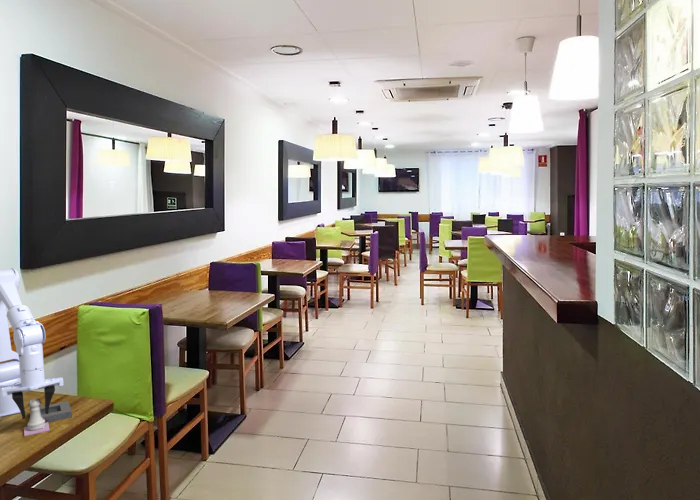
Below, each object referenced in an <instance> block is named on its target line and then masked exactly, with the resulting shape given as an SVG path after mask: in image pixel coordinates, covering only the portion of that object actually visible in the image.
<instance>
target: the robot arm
mask: <svg viewBox="0 0 700 500" xmlns="http://www.w3.org/2000/svg"><path fill="white" fill-rule="evenodd" d="M20 277H21V276H20V274H19V271H18V270H17V269H16V268H15V267H11V268H6V269H0V417H5V416H10V415H15V414H21V417H22V420H25V419H26V410H25V405H24V404H25V403H24V393H25V392H26V393H27V392H32V391H36V390H37V391H38V390H42V389H44V390H43V393H44V406H45V413H46V414H49V413H48V412H49V405H50V404H51V401H52V399H53V396H54V394H55V391H56V388H55V387H63V386H64V378H63V377H54V378H45V376H46V375H45V363H44V351H43V350H44V349H43V344H45V342H46V339H47V337H46V329H45V327H44V325H43V324H42V323H41V322H39V321H38V320H37V321H36V320H35V317H34V315H33V314H32V311H31V309H30V307H29V306H28V305H26V304H25V305H24V304H23V302H22V300H21V297H20V294H19V291H18V290H19V286H20V282H21V278H20ZM9 324H10V326H11V329H12V332H13V336H12V337H13V341H14V342H13V343H14V345H15V351H14V350H13V349H12V343H11V335H10V334H11V333H10V328H9Z"/></svg>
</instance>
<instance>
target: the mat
mask: <svg viewBox="0 0 700 500" xmlns="http://www.w3.org/2000/svg"><path fill="white" fill-rule="evenodd" d="M49 423H50V422H46V423H45V424H46V425H45V426H44V428H42V429H39V430H34V431H30V430H29V429H28V428H27V427H28V426H25V427H23V437H28V436H33V435H37V434H41V433H47V432H50V424H49Z"/></svg>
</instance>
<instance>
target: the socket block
mask: <svg viewBox="0 0 700 500" xmlns="http://www.w3.org/2000/svg"><path fill="white" fill-rule="evenodd" d="M70 405H71V404H70V402H69V400H66V401H62V402H56V403H50V405H49V412H48V413H49V414H46V413H45V405H40V407H41V409H40V411H41V415H42V417H43V419H44V420H45V423H46V422H48V423H51V422H56V421H62V420H66V419H70V418H73V414H72V413H73V412H72V408H71V406H70Z"/></svg>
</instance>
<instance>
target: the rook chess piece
mask: <svg viewBox="0 0 700 500" xmlns="http://www.w3.org/2000/svg"><path fill="white" fill-rule="evenodd" d="M41 404H42V401H41V399H40V398H33V399H30V400H29V402H28V404H27V405H28V406H29V411H30V415H29V416H30V417H29V419H28V422H27V426H26V427H27V428H28V429H29V430H30V431H34V430H39V429H42V428H44V426H45V425H46V424H45V420H44V419H43V417H42V415H41V411H40V409H41V407H40V406H41Z"/></svg>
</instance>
